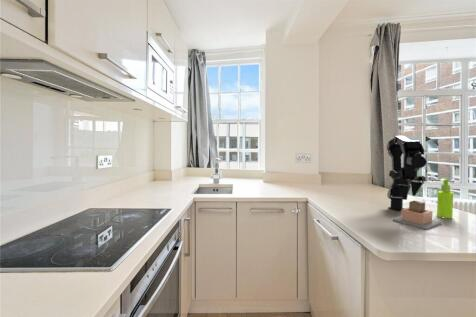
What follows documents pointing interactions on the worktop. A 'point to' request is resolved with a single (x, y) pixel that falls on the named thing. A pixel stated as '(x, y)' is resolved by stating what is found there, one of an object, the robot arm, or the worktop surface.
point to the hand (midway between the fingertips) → (409, 196)
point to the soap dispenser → (445, 200)
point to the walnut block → (417, 206)
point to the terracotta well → (417, 219)
